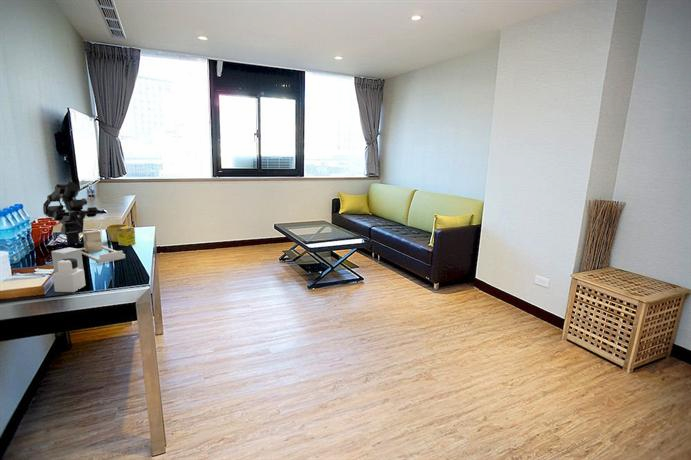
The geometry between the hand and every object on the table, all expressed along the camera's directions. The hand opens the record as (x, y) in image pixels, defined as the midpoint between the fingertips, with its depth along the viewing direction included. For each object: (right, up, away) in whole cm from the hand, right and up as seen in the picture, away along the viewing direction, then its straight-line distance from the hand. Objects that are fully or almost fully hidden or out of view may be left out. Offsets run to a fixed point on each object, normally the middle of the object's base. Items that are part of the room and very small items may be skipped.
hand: (82, 226), depth 186 cm
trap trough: (+14, -15, -7) cm, 22 cm away
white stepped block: (+31, -25, -48) cm, 63 cm away
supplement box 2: (+17, -11, +12) cm, 23 cm away
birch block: (+8, -13, -3) cm, 16 cm away
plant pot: (+7, -9, +19) cm, 22 cm away
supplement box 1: (+24, -23, -38) cm, 51 cm away
